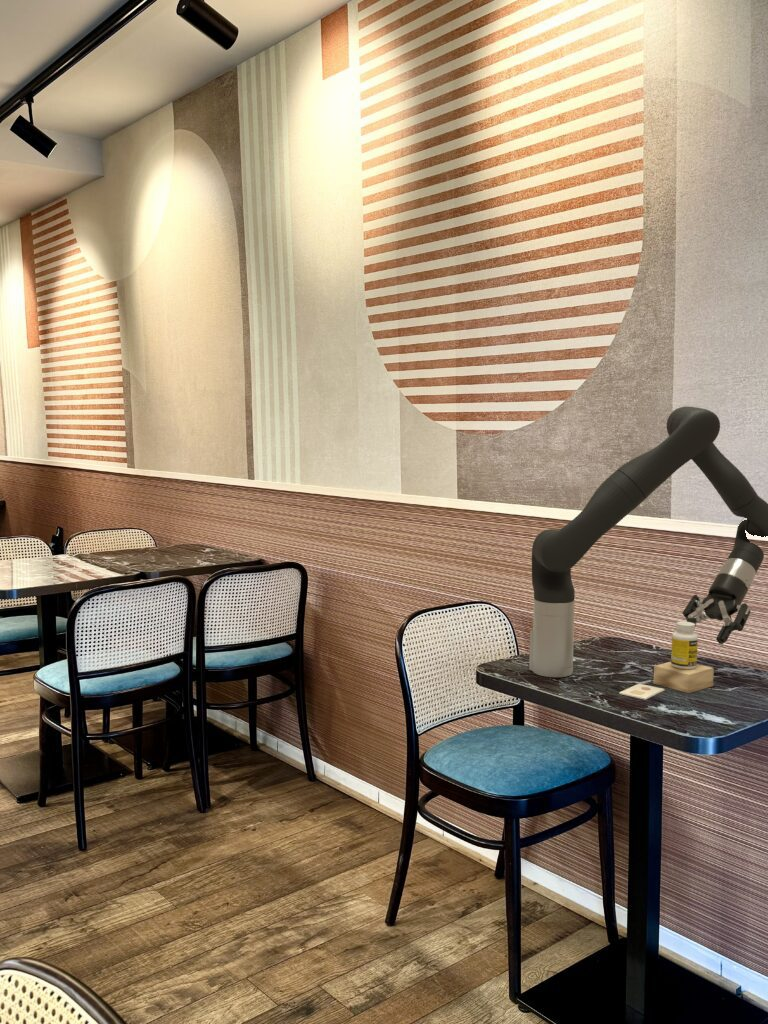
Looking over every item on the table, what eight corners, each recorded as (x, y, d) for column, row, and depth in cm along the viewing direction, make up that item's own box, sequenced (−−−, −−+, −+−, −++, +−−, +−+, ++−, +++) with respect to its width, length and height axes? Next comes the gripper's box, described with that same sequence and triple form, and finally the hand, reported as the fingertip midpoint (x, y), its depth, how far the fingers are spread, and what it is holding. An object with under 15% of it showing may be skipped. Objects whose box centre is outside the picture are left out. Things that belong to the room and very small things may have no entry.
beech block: (652, 683, 201) (653, 665, 200) (677, 676, 206) (678, 659, 206) (688, 693, 193) (689, 675, 193) (713, 685, 199) (714, 668, 198)
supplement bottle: (690, 671, 196) (692, 627, 195) (666, 666, 199) (668, 623, 198) (700, 666, 200) (702, 623, 199) (676, 662, 203) (678, 619, 202)
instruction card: (619, 693, 193) (619, 692, 193) (638, 684, 199) (639, 683, 199) (645, 699, 189) (645, 697, 189) (664, 690, 195) (664, 688, 195)
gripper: (699, 568, 212) (668, 623, 206) (755, 576, 201) (724, 634, 195) (711, 587, 216) (681, 642, 210) (767, 597, 204) (737, 654, 199)
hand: (702, 638), depth 202 cm, fingers open, 8 cm apart
